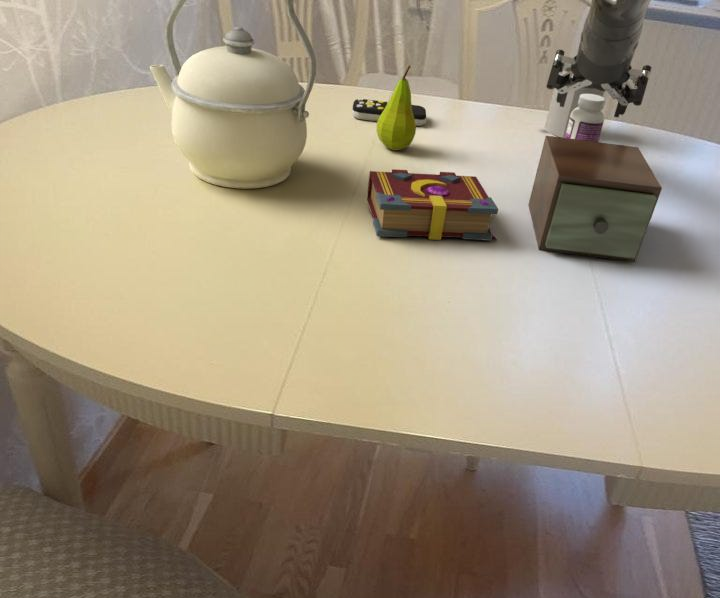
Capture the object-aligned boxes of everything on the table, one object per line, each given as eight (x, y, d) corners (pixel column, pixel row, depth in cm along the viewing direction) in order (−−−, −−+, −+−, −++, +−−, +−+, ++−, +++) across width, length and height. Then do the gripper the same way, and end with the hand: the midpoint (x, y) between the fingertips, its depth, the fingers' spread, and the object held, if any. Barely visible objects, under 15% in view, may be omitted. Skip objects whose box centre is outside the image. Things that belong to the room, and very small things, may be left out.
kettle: (337, 169, 111) (352, -32, 94) (275, 211, 98) (280, -14, 81) (193, 130, 117) (183, -65, 101) (117, 165, 104) (91, -53, 88)
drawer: (636, 263, 95) (659, 202, 90) (547, 252, 95) (564, 190, 90) (615, 215, 106) (634, 159, 101) (535, 205, 106) (550, 148, 101)
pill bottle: (597, 161, 125) (616, 99, 118) (581, 168, 122) (600, 104, 115) (569, 151, 127) (586, 89, 121) (553, 158, 124) (569, 94, 118)
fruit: (366, 144, 120) (374, 61, 112) (394, 138, 124) (404, 57, 116) (393, 158, 117) (404, 73, 109) (421, 151, 120) (433, 68, 112)
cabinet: (635, 261, 97) (662, 187, 91) (538, 249, 97) (558, 174, 91) (615, 216, 108) (638, 147, 102) (528, 205, 108) (545, 135, 102)
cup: (564, 121, 140) (580, 61, 133) (600, 135, 135) (618, 74, 129) (535, 127, 135) (550, 65, 129) (571, 142, 131) (588, 79, 124)
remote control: (425, 127, 129) (427, 115, 128) (351, 119, 129) (352, 106, 128) (424, 116, 134) (426, 104, 133) (353, 108, 133) (354, 96, 132)
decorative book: (365, 202, 103) (368, 165, 100) (478, 207, 106) (485, 171, 102) (376, 239, 95) (381, 199, 92) (499, 243, 98) (508, 205, 94)
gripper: (670, 21, 101) (642, 92, 117) (564, 3, 103) (551, 75, 119) (655, 74, 101) (629, 138, 117) (550, 55, 103) (538, 120, 119)
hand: (590, 106), depth 118 cm, fingers open, 8 cm apart
